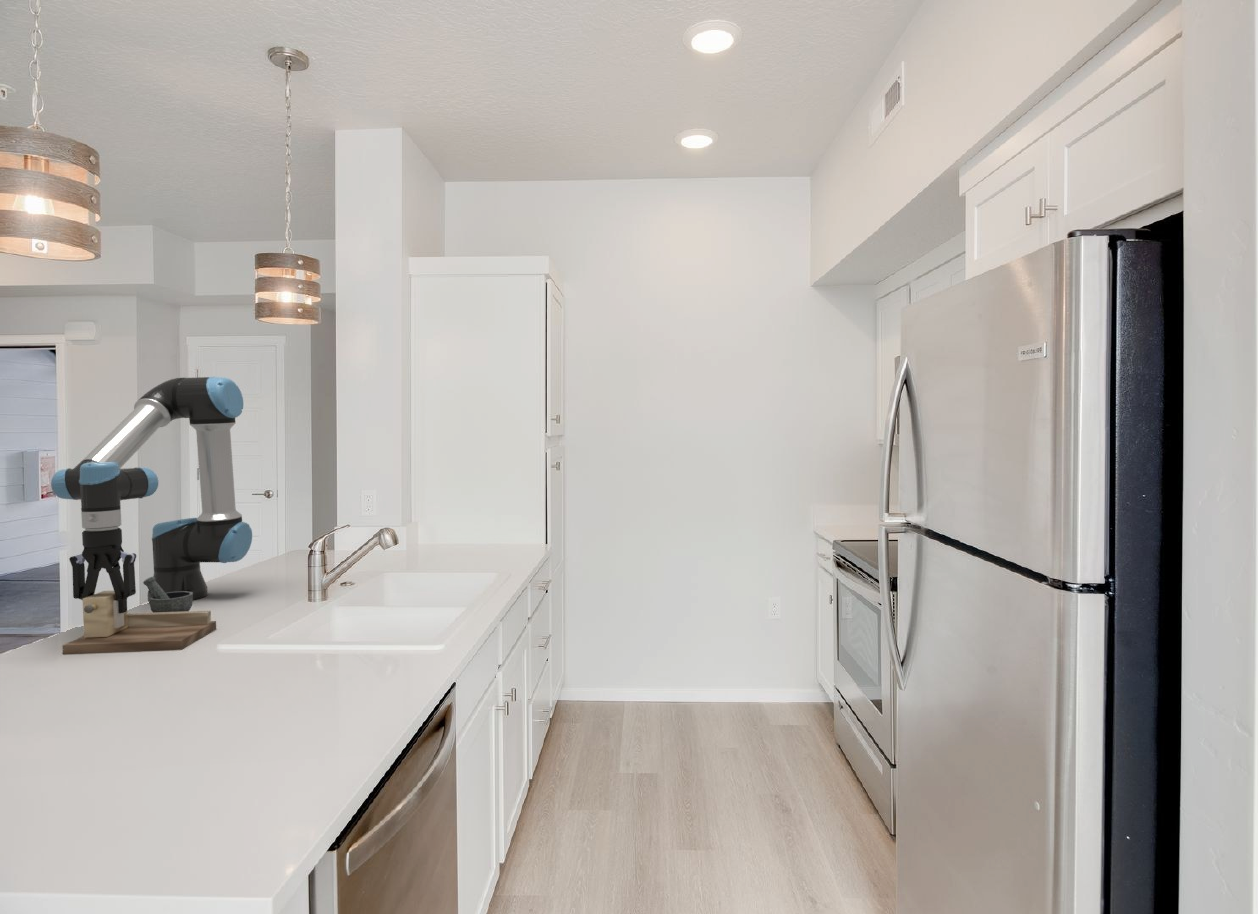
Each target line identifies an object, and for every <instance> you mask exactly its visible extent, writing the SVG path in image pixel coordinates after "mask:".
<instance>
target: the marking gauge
mask: <svg viewBox="0 0 1258 914" xmlns="http://www.w3.org/2000/svg"><path fill="white" fill-rule="evenodd" d="M115 599H116V595H115V592H114V590H102V591H100V592H97V593H94V595H91V596H89V597H86V598H83V601H82V613H83V614H82V615H83V618H82V619H83V620H82V621H83V636H84V638H88V637H108V636H110V635H112V634H114V633H117V632H119V631H121V630H123V629H125V628H127V627H128V621H127V614H128V610H127V611H126V612H124V626H121V627H119V628H114V612H113V601H114V600H115Z"/></svg>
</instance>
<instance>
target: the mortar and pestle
mask: <svg viewBox="0 0 1258 914" xmlns="http://www.w3.org/2000/svg"><path fill="white" fill-rule="evenodd" d="M142 584H143V585H145V586H146V587H147V589H148V591H150V592H151V594H152V596H151V597H150V602H149V607H150V610H151V611H150V612H151V613H157V612H185V611H190V610H191V607H192V605H193V602H194V600H193V592H187V591H180V592H169V593H165V592H164V591H163V589H162V588H161V587H160V586H159V584H158V583H157V582H156V581H155V577H153V576H149V577H148V578H146V579H144V581H142Z"/></svg>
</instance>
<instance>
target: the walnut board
mask: <svg viewBox="0 0 1258 914" xmlns="http://www.w3.org/2000/svg"><path fill="white" fill-rule="evenodd" d="M127 621H128V627H127V628H125V629H123V630H121V631H119V632H117V633H114V634H112V635H110V636H108V637H88V638H84V635H83V636H80V637H78V638H76V639H74V640H71V641H68V642H66V643H64V644H62V655H74V654H75V655H77V654H99V653H100V654H102V653H124V652H125V653H126V652H127V653H128V652H151V651H172V650H173V651H176V650H177V651H178V650H183V649H185V648H187V647H188V646H190V645H193V644H194V643H195V642H197V641H198V640H200V639H202V638H203V637H205V636H207V635H209V634H210V633H212V632H215V630H217V621H216V620H212V610H191V611H190V610H189V611H185V612H157V613H153V612H133V613H128V612H127Z"/></svg>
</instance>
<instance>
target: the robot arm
mask: <svg viewBox="0 0 1258 914" xmlns="http://www.w3.org/2000/svg"><path fill="white" fill-rule="evenodd" d="M243 410H244V397H243V394H242V392H241V389H240V387H239V385H237V384H236V382H235V381H233V380H232V379H231V378H229V377H219V376H210V377H209V376H208V377H207V376H206V377H205V376H204V377H203V376H202V377H176V378H171V379H168V380H166V381H164V382H162V383H159V384H158V385H156V386H155V387H153V388H151V389H150V390H149V391H146V392H145V393H144V394H143V395H142V396H141V397H140V398H139V399H138V400H137V401H136V402H134V405H133V410H132V411H131V412H130V413H129V414H128V415H127V416H126V417H125V418H124V419H123V420H122V421H121V422H120V423H118V425H117V426H116V427H115V428H114V429H113V430H112V431H111V432H110V433H108V435H107V436H105V438H104V439H102V440H101V442H99V443H98V444H97V445H96V446H95V447H94V448H93V450H91V451H90V452H89V453H88V454H87V455H86V456H85V457H84V458H83V459H82V460H80V462H79V463H78V464H77V465H75V466H74V468H71V467H69V468H66V469H60V470H57V471H56V472H54V474H53V476H52V478H51V480H50V481H51V482H50V487H51V490H52V492H53V494H54V495H55V496H56V497H57V498H60V499H63V500H73V501H74V500H75V501H79V500H80V506H81V508H80V511H81V512H80V515H81V516H80V517H81V528H82V529H84V530H83V531H82V533H81V536H82V547H83V550H82V552H81V553H80V554H76V555H74V556H73V555H72V556H70V557H69V558H68V559H69V563H70V565H71V568H72V597H73V598H74V599H76V600H81V601H82V602H83V598H86V597H89V596H91V595H94V594H96V587H97V583H98V579H99V575H100V571H102V569H104V570H105V572H106V573H108V576H109V580H110V582H111V585H112V588H113V591H114V592H115V595H116V599H115V600H114V601H113V612H114V628H119V627H121V626H124V612H126V611H127V612H128V598H129V597H132V596H135V594H136V591H137V590H136V588H137V587H136V573H135V572H136V571H135V563H136V559H137V554H136V553H128V552H126V551H125V552H124V549H123V547H122V544H123V532H122V529H121V528H120V526H122V511H121V501H125V500H126V501H127V500H136V499H143V498H147V497H150V496H152V495H154V494H155V493H156V492H157V489H158V488H159V478H158V476H157V474H156V473H155V472H154V470H152V469H151V468H148V467H132V468H131V467H130V468H122V467H123V466H124V465H125V464H126V463H127V462H128V461H129V460H130V459H131V458H132V456H134V455H135V453H137V452H138V451H139V450H140V449H141V447H143V445H144V444H145V443H146V442H147V441H148V440H149V439H150V438H151V437H152V436H153V435H154V434H155V433H156V431H158V429H160V428H164V427H167V426H168V424H170V423H171V422H172V421H174V420H178V419H188V420H189V421H188V422H189V425H190V426H191V427H192V428H193V429H194V430H195V431H196V432H195V433H196V444H197V445H196V446H197V457H198V460H197V461H198V473H199V486H200V499H201V501H200V502H201V514H200V515H198V517H189V518H184V519H182V518H181V519H175V520H170V521H169V520H168V521H164V522H160V523H159V522H158V523H157V524H154V526H153V528H152V535H151V536H152V537H151V541H152V557H153V559H152V561H153V562H152V563H153V574H152V575H153V576H152V577H155V581H156V582H157V583H158V584H159V586H160V587H161V588H162V589H163V591H164V592H165V593H169V592H180V591H187V592H193V601H194V600H198V599H202V598H204V597H206V596H208V586H207V584H206V580H205V578H204V577H203V574H202V571H201V563H221V564H227V563H235V562H238V561H240V560H243V558H245V556H247V554H248V551H250V549H251V545H252V541H253V530H252V528H251V526H250V524H249V523H247V522H244V521H243V516H242V514H241V512H239V511H237V509H236V495H235V481H234V480H235V479H234V466H233V452H232V450H233V449H232V437H231V436H232V435H231V428H233V427H234V426H235V424H236V418H238V417H240V415H241V414H242V413H243ZM120 560H121V562H122V572H121V565H120ZM85 561H86V563H87V569H86V567H85ZM85 569H86V570H85ZM86 573H87V575H86ZM151 596H152V594H151V592H150V591H149V590H148V591H147V602H148V603H150V597H151Z"/></svg>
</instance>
